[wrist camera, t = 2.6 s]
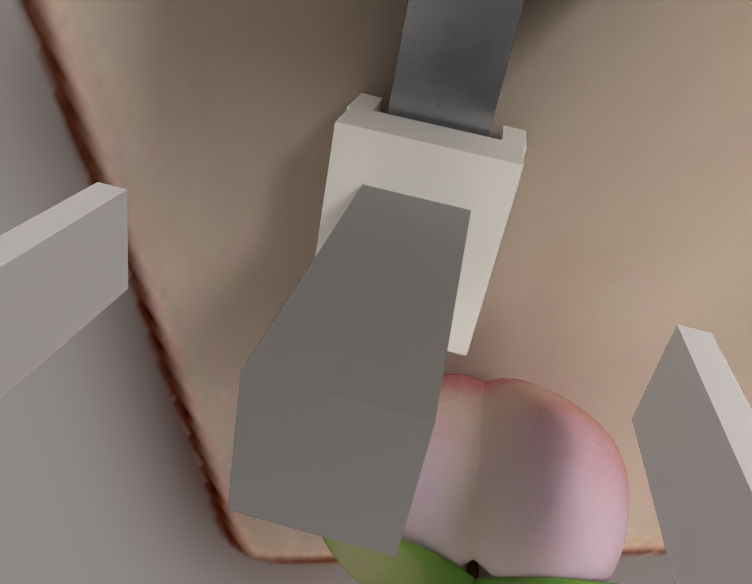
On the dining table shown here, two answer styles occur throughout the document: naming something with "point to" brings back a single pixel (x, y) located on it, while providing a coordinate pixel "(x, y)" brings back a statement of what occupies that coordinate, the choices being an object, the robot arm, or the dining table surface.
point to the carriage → (372, 326)
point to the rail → (454, 61)
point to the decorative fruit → (507, 494)
